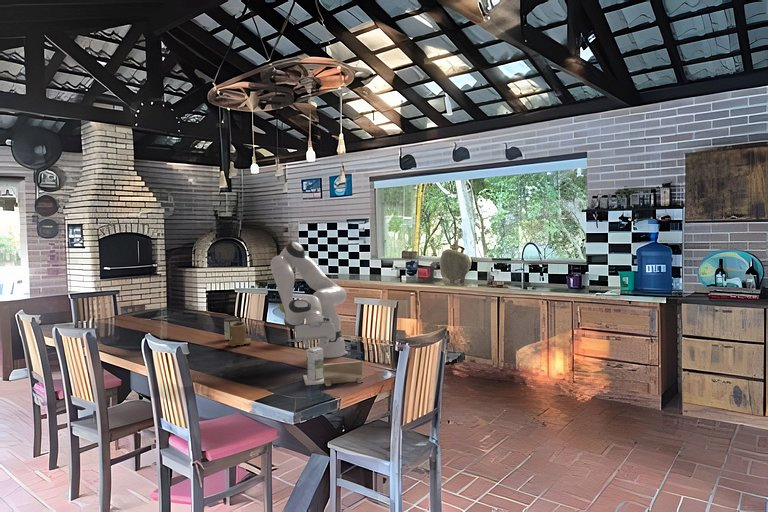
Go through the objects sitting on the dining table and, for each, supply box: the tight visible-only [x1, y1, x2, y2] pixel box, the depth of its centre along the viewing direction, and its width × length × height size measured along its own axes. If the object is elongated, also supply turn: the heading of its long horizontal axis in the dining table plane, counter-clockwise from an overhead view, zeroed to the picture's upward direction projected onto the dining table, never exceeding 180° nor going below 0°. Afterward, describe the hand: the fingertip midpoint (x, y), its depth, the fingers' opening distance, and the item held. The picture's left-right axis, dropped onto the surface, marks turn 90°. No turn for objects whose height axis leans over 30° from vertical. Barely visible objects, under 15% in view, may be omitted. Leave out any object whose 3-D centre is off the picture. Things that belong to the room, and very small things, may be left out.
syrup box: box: [306, 346, 324, 380], centre depth 249 cm, size 6×6×14 cm
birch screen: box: [323, 360, 364, 387], centre depth 244 cm, size 5×18×9 cm, turn 103°
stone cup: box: [227, 321, 252, 347], centre depth 332 cm, size 15×12×15 cm
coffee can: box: [223, 317, 241, 340], centre depth 351 cm, size 10×10×14 cm
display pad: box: [302, 374, 325, 386], centre depth 250 cm, size 14×10×1 cm
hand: (316, 345), depth 262 cm, fingers open, 8 cm apart
